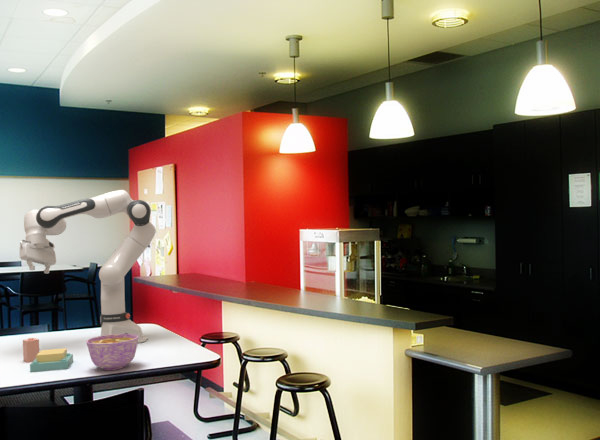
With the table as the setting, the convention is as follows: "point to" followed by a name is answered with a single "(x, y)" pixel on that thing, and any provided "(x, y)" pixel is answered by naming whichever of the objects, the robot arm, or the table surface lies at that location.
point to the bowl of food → (112, 350)
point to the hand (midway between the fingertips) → (39, 271)
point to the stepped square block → (51, 360)
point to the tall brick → (30, 349)
